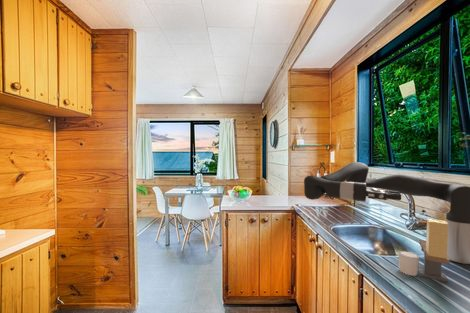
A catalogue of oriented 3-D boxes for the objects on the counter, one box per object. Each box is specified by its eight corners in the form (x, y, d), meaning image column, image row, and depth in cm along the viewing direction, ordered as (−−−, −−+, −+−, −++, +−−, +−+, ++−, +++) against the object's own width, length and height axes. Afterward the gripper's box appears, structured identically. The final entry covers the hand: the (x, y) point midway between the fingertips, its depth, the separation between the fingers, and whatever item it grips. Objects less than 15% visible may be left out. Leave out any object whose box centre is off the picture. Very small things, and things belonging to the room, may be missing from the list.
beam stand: (447, 281, 88) (448, 258, 88) (419, 275, 92) (420, 253, 92) (444, 276, 92) (445, 254, 92) (418, 270, 96) (418, 249, 96)
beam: (451, 265, 82) (451, 260, 82) (425, 260, 85) (425, 255, 85) (439, 246, 99) (439, 242, 99) (418, 243, 102) (418, 239, 102)
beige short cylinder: (394, 266, 99) (395, 249, 99) (414, 269, 97) (415, 252, 97) (401, 274, 92) (402, 256, 92) (422, 277, 90) (423, 258, 90)
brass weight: (446, 259, 82) (448, 223, 82) (428, 255, 85) (429, 221, 85) (443, 254, 87) (444, 220, 87) (425, 251, 89) (427, 218, 89)
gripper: (354, 198, 106) (399, 202, 98) (350, 202, 94) (401, 208, 86) (355, 180, 106) (399, 184, 98) (351, 183, 94) (402, 187, 86)
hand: (400, 195), depth 92 cm, fingers open, 8 cm apart
